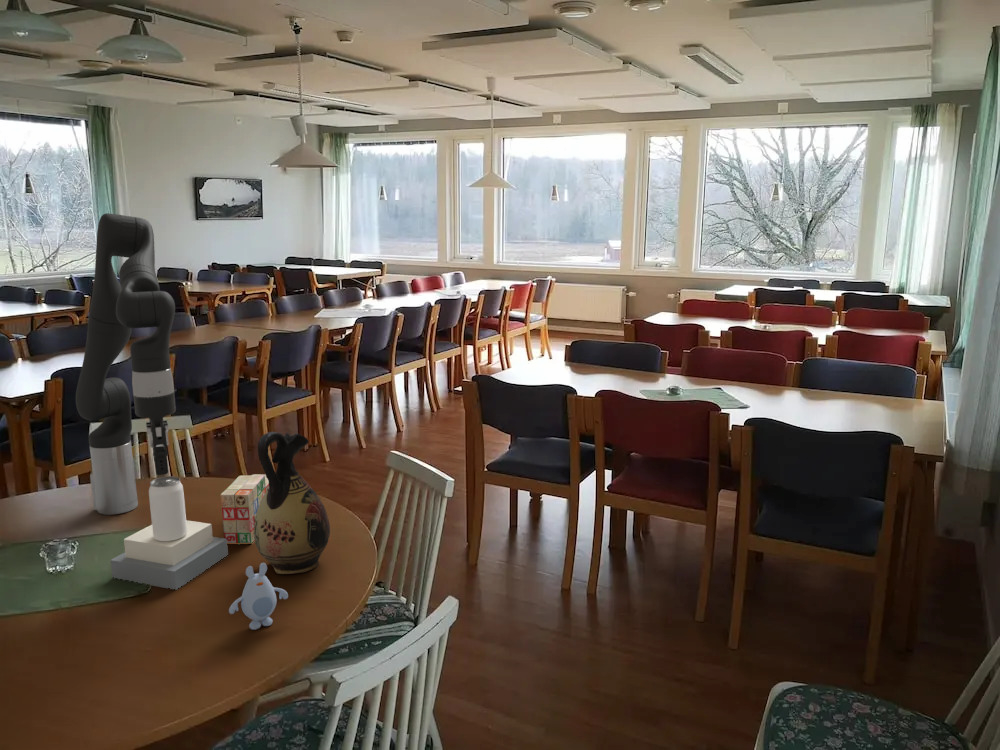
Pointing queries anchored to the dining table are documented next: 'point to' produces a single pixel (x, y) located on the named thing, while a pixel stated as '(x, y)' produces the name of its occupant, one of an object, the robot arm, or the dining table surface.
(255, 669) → the dining table surface
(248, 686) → the dining table surface
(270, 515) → the ceramic jug
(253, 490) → the stack of blocks
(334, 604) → the dining table surface
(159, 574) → the tower base
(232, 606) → the toy figure
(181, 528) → the can
